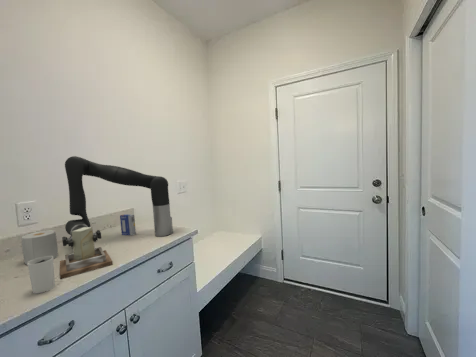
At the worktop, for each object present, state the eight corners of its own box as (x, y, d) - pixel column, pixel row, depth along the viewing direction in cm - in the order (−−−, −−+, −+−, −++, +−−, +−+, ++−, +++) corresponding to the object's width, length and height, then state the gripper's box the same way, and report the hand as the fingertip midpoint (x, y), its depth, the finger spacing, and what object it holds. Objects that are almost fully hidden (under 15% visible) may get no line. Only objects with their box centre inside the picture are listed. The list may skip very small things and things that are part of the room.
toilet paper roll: (44, 253, 112) (42, 230, 111) (65, 254, 110) (62, 230, 109) (16, 264, 100) (13, 238, 100) (38, 265, 98) (35, 238, 97)
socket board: (105, 253, 108) (105, 244, 108) (112, 264, 95) (111, 255, 94) (60, 264, 98) (59, 255, 97) (60, 279, 84) (59, 268, 84)
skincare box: (83, 261, 92) (80, 231, 91) (73, 260, 93) (70, 231, 92) (95, 254, 99) (92, 226, 98) (86, 254, 100) (84, 226, 99)
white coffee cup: (29, 289, 78) (26, 260, 77) (54, 281, 83) (51, 254, 82) (32, 296, 73) (28, 266, 73) (58, 287, 78) (55, 258, 77)
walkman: (121, 235, 136) (119, 214, 136) (125, 233, 139) (123, 213, 138) (132, 235, 134) (130, 215, 133) (136, 233, 137) (134, 214, 136)
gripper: (60, 228, 102) (60, 237, 89) (97, 222, 111) (103, 229, 98) (62, 245, 103) (62, 256, 90) (99, 237, 111) (104, 246, 98)
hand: (83, 241), depth 94 cm, fingers closed on skincare box, 7 cm apart
